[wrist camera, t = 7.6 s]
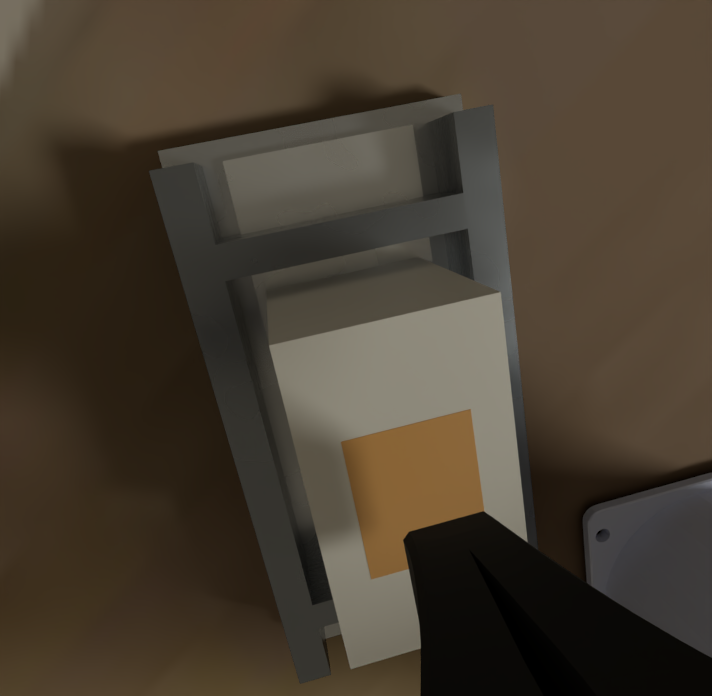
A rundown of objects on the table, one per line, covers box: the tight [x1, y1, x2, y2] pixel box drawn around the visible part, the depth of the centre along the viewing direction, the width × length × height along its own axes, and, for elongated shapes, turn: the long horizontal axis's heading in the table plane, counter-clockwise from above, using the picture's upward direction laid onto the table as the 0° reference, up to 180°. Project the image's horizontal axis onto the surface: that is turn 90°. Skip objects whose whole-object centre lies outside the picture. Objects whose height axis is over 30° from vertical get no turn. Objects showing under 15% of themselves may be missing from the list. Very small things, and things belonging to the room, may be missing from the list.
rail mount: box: [149, 94, 538, 684], centre depth 15 cm, size 15×7×3 cm, turn 11°
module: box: [266, 257, 528, 669], centre depth 12 cm, size 7×4×5 cm, turn 11°
